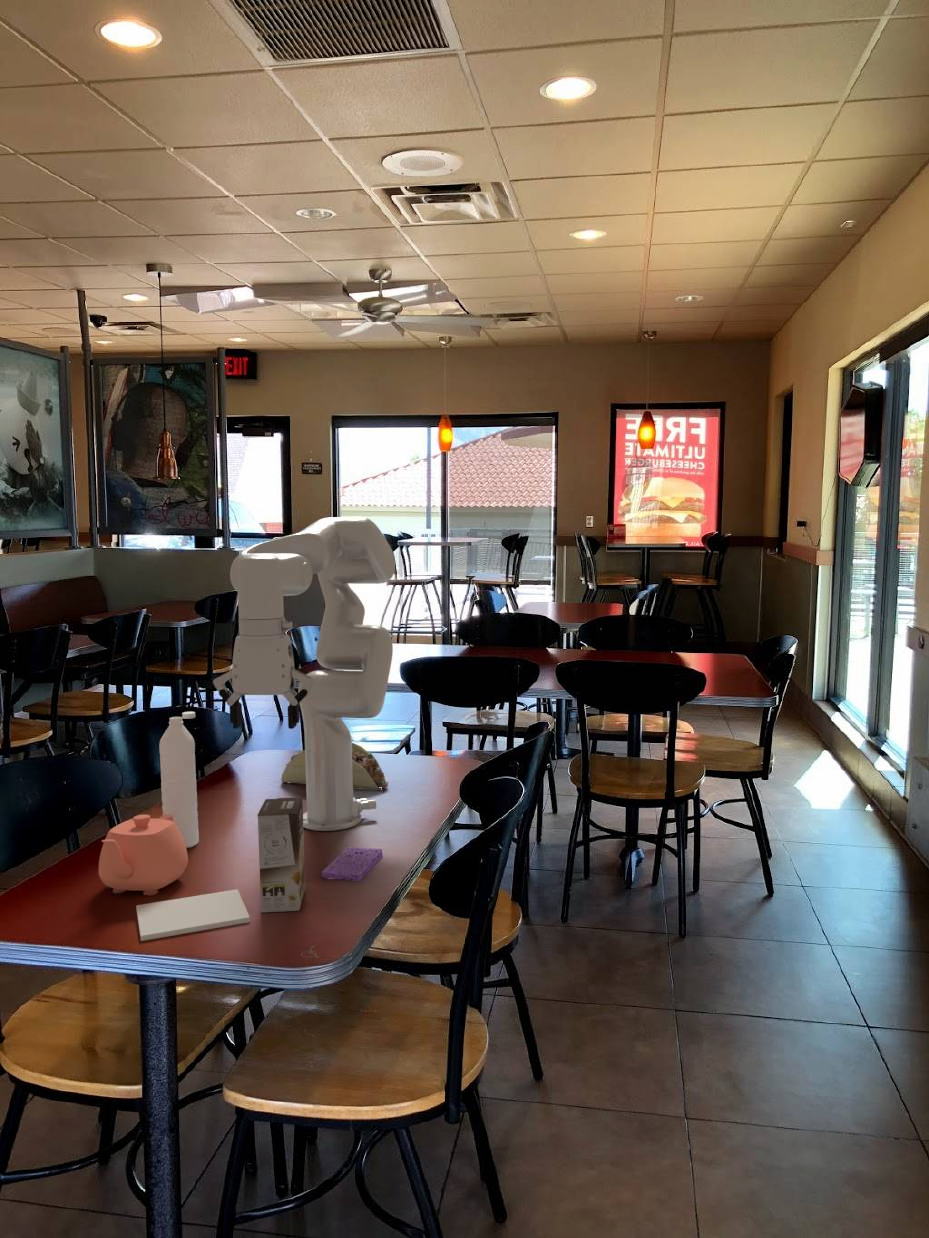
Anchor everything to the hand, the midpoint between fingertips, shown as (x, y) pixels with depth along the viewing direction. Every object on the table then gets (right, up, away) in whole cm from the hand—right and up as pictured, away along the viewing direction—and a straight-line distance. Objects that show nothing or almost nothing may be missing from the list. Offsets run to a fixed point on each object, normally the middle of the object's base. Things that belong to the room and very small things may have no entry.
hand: (265, 727), depth 159 cm
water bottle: (-20, -25, +21) cm, 38 cm away
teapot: (-21, -27, -1) cm, 34 cm away
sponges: (+14, -27, +7) cm, 31 cm away
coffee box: (+5, -28, -8) cm, 29 cm away
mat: (-9, -28, -13) cm, 32 cm away
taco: (+4, -21, +58) cm, 62 cm away
